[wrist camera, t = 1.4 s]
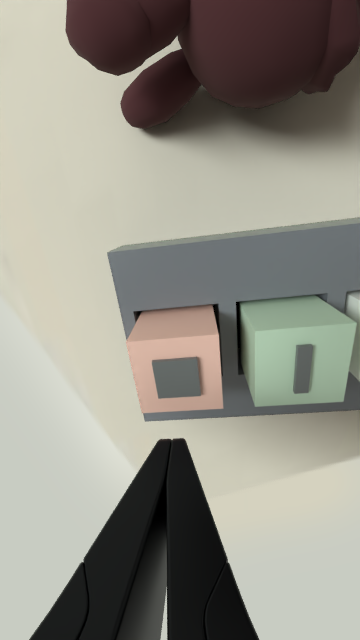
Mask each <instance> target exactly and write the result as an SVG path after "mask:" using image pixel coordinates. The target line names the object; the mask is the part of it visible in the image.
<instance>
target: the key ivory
mask: <svg viewBox="0 0 360 640" xmlns="http://www.w3.org/2000/svg"><path fill="white" fill-rule="evenodd" d="M343 314H344V315H346V316H347V317H349V318H350V319H352V320H353V321H355V322H357V326H356V331H355V337H354V343H353V349H352V354H351V360H350V366H349V371H350V372H351V373H352V374H353V375H354V376H355V377H356V378H357V379H358V380H359V381H360V290H358V291H347V293H346V300H345V306H344V313H343Z"/></svg>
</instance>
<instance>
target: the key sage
mask: <svg viewBox="0 0 360 640" xmlns="http://www.w3.org/2000/svg"><path fill="white" fill-rule="evenodd" d="M239 311H240V350H241V365H242V368H243V371H244V374H245V377H246V380H247V383H248V386H249V390H250V393H251V396H252V399H253V402H254V405H255V407H260V406H278V405H295V404H313V403H330V402H343V401H344V395H345V389H346V383H347V378H348V372H349V366H350V360H351V354H352V349H353V343H354V337H355V331H356V326H357V322H355V321H353V320H352V319H350V318H349V317H347V316H346V315H344V314H343V313H341V312H340V311H338V310H337V309H335V308H334V307H332V306H331V305H329V304H328V303H326V302H325V301H323V300H322V299H320V298H319V297H317V296H315V295H305V296H294V297H284V298H273V299H262V300H252V301H241V302H239Z"/></svg>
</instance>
